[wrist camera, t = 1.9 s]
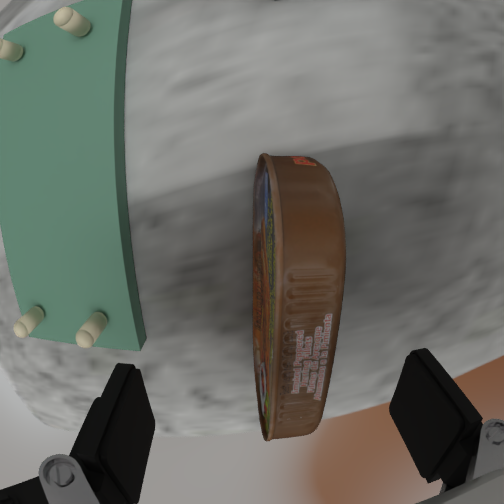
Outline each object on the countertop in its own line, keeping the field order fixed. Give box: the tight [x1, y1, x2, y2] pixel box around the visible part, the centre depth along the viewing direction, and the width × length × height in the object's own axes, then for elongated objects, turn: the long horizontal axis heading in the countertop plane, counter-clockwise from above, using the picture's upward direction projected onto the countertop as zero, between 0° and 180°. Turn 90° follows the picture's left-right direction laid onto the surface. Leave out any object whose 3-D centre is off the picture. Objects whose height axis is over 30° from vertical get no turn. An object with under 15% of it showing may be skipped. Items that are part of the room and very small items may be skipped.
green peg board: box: [0, 0, 146, 351], centre depth 14 cm, size 10×23×5 cm, turn 0°
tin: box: [253, 153, 346, 441], centre depth 15 cm, size 15×3×8 cm, turn 0°
